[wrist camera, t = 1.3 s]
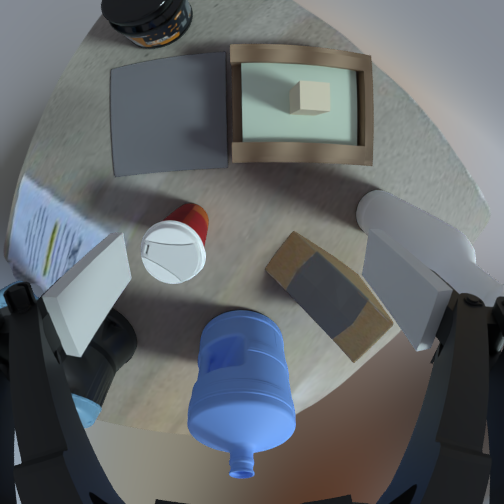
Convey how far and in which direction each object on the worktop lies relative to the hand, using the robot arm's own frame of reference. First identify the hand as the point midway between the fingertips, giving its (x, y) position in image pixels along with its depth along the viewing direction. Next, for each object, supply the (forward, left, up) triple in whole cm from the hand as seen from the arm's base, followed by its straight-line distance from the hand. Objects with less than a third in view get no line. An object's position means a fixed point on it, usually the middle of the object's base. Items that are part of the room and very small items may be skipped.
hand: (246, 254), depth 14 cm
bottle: (+22, -5, -29) cm, 36 cm away
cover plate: (+7, +11, -24) cm, 27 cm away
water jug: (-1, -30, -29) cm, 42 cm away
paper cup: (-8, -6, -29) cm, 31 cm away
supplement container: (-12, +27, -29) cm, 41 cm away
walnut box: (+8, +11, -29) cm, 31 cm away
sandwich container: (+11, -16, -29) cm, 35 cm away
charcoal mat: (-11, +11, -29) cm, 33 cm away
